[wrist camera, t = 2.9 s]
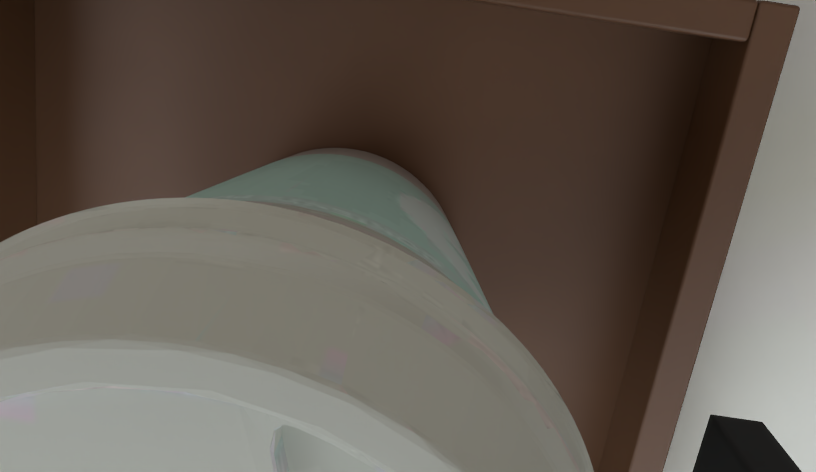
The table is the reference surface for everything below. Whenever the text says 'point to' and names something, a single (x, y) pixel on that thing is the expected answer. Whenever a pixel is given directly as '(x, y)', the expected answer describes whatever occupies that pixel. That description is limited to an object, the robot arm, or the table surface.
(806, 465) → the table surface
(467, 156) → the tray
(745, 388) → the table surface
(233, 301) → the coffee cup
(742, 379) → the table surface
